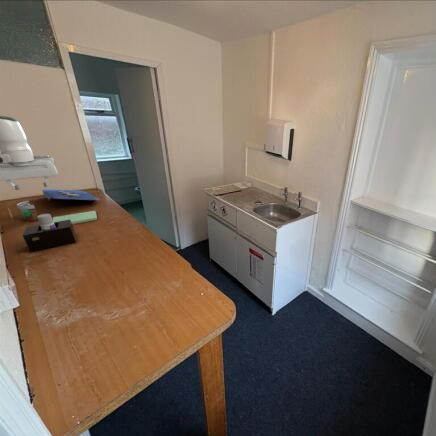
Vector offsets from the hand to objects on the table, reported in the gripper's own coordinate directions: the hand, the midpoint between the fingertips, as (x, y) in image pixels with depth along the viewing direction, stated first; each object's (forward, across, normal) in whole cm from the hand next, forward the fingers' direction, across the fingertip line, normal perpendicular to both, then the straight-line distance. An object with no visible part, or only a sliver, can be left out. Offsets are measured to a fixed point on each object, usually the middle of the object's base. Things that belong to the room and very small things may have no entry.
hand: (32, 187), depth 105 cm
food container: (+29, +13, -45) cm, 55 cm away
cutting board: (+29, -8, -30) cm, 42 cm away
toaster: (+29, 0, 0) cm, 29 cm away
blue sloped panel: (+33, -4, -72) cm, 79 cm away
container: (+29, 0, 0) cm, 29 cm away
